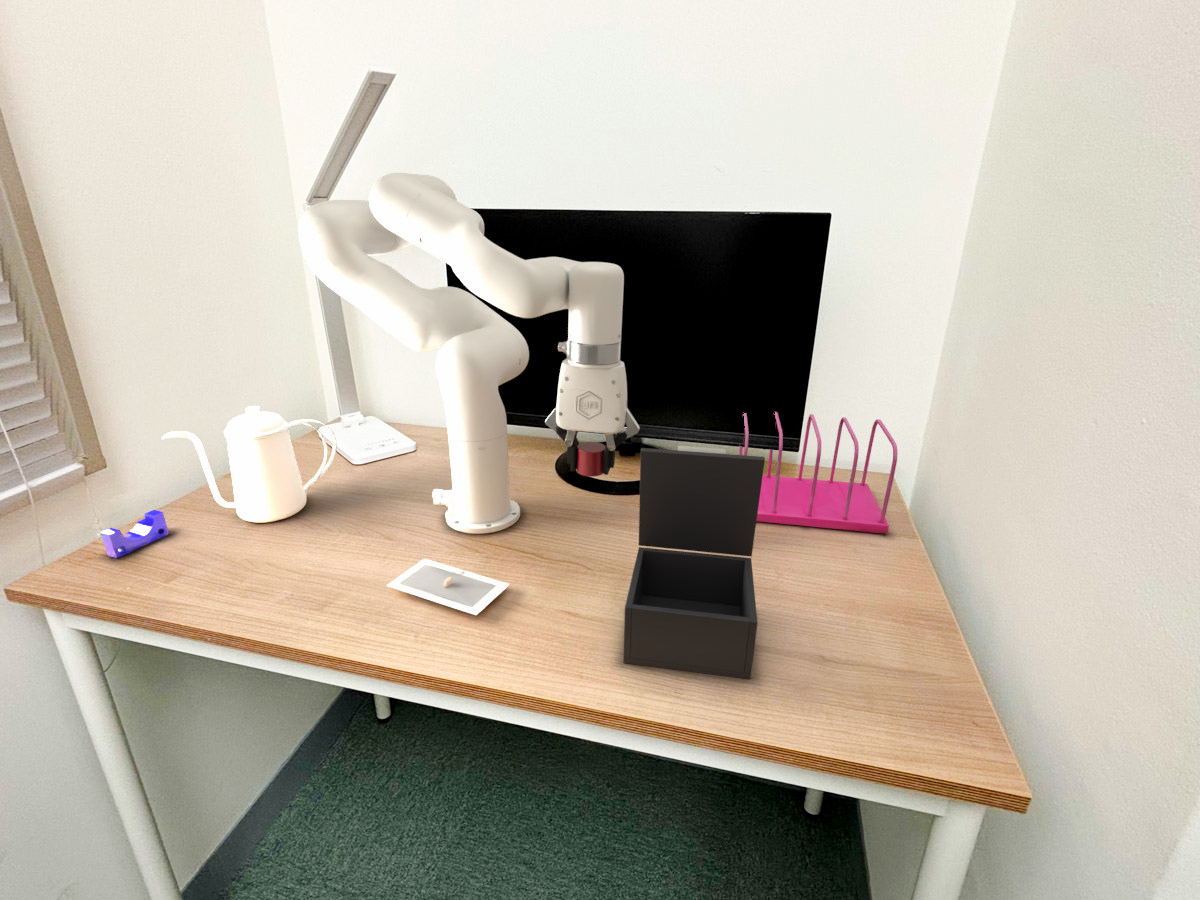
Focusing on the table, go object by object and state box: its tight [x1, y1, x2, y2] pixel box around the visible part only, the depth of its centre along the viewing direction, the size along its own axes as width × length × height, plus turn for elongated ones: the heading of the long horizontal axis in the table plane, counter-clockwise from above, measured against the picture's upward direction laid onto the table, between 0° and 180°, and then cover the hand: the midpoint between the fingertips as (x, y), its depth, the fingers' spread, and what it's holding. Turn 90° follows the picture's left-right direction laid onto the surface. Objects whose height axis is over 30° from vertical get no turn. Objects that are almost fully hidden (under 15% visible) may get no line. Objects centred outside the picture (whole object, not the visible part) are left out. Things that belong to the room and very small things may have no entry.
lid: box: [638, 445, 766, 557], centre depth 79 cm, size 14×15×6 cm
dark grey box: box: [622, 546, 758, 680], centre depth 76 cm, size 14×15×8 cm
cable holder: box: [100, 509, 170, 559], centre depth 96 cm, size 8×4×4 cm, turn 158°
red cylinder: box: [575, 441, 606, 478], centre depth 94 cm, size 4×4×4 cm
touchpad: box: [386, 558, 511, 616], centre depth 85 cm, size 8×15×2 cm, turn 65°
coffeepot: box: [161, 405, 337, 523], centre depth 104 cm, size 11×25×19 cm, turn 131°
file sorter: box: [738, 411, 898, 534], centre depth 109 cm, size 17×25×16 cm
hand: (590, 468), depth 95 cm, fingers closed on red cylinder, 4 cm apart
